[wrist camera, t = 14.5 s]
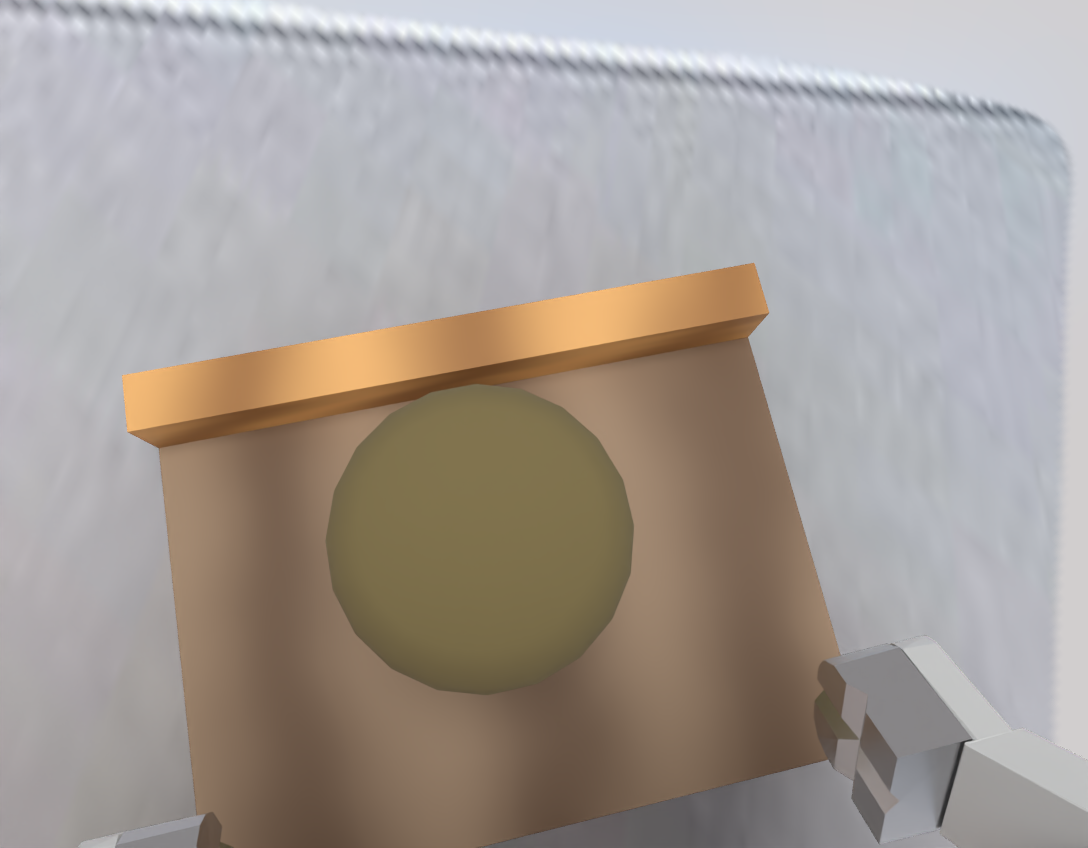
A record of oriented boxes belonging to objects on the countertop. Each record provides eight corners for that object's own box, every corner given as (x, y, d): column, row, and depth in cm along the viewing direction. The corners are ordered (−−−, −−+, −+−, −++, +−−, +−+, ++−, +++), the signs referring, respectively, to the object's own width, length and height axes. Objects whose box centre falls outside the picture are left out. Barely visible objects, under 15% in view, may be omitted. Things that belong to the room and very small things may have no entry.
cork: (504, 426, 24) (511, 263, 13) (635, 586, 23) (759, 553, 12) (338, 553, 22) (194, 491, 12) (469, 728, 21) (442, 831, 11)
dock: (244, 879, 23) (176, 947, 18) (191, 421, 26) (122, 375, 21) (824, 735, 25) (903, 761, 20) (709, 325, 28) (754, 262, 23)
